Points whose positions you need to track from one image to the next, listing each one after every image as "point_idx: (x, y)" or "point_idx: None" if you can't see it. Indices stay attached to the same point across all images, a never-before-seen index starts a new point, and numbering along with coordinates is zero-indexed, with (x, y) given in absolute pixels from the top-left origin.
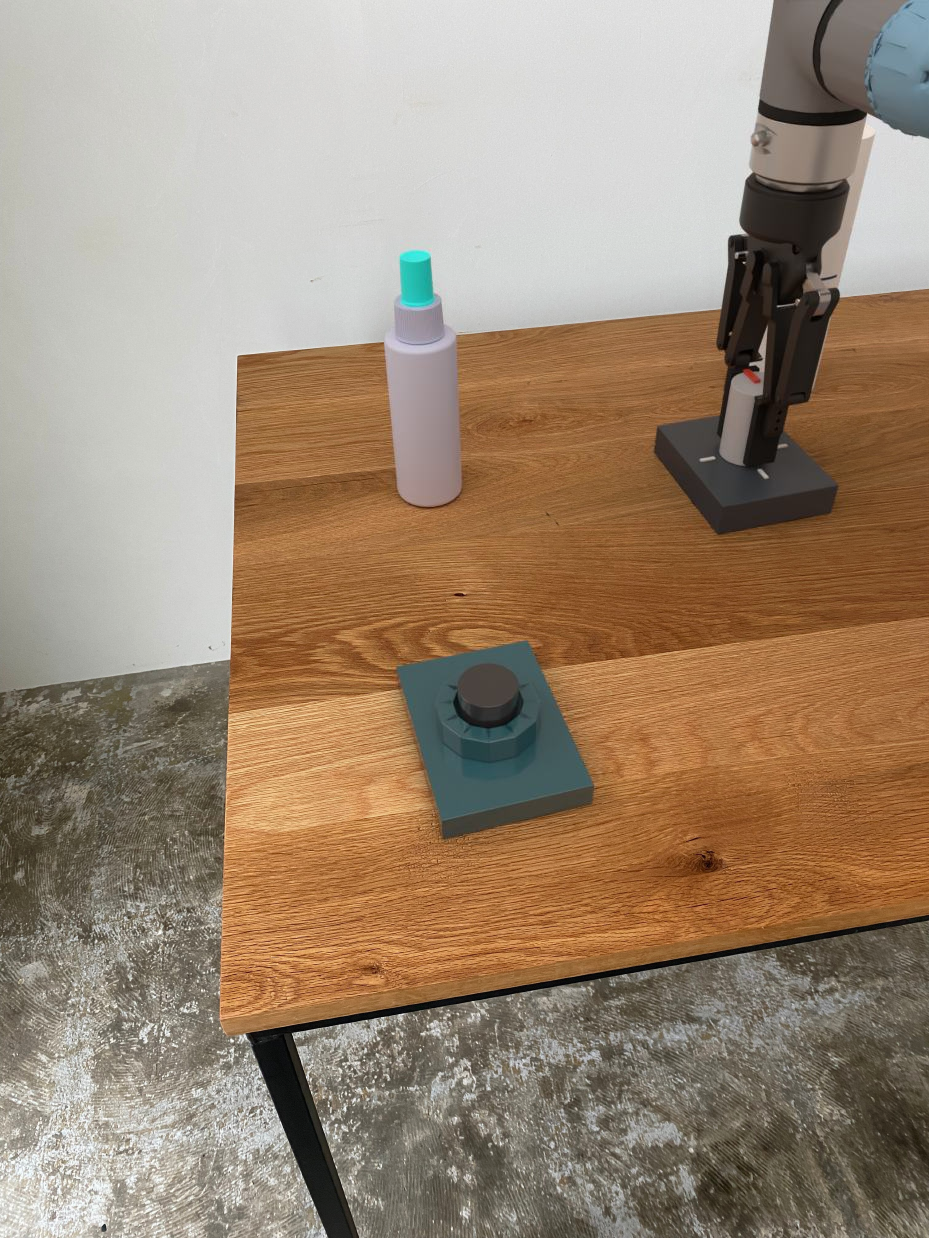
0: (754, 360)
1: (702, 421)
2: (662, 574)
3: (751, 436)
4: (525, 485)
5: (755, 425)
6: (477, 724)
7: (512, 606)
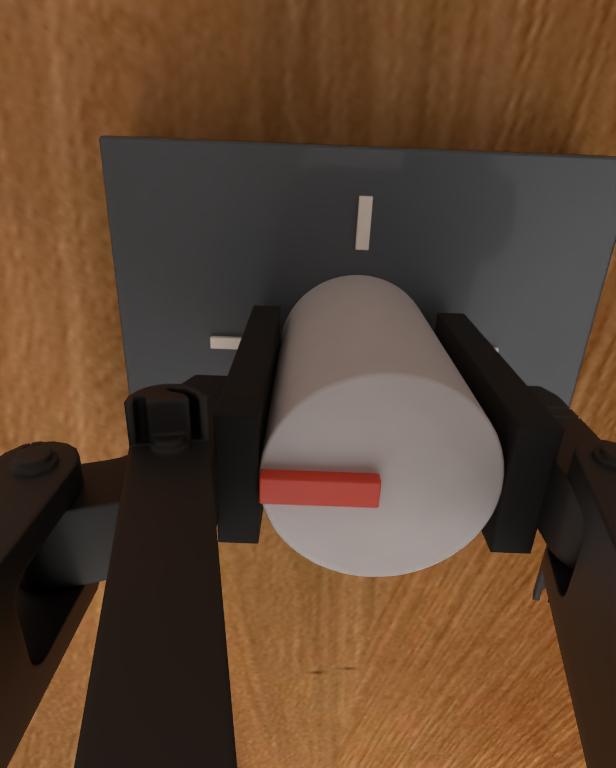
0: (208, 441)
1: (146, 371)
2: None
3: None
4: None
5: None
6: None
7: (511, 760)
